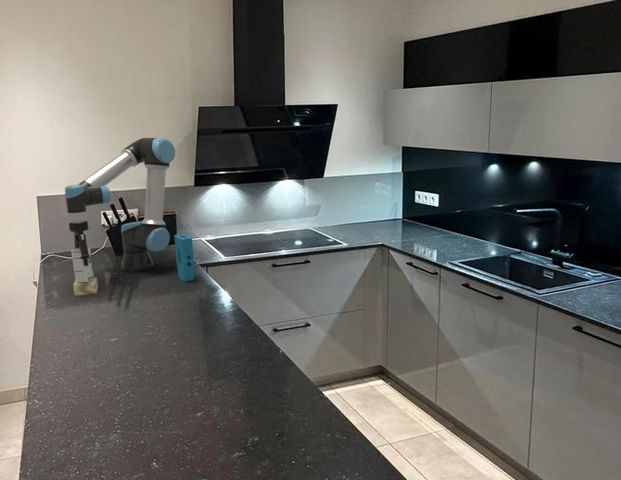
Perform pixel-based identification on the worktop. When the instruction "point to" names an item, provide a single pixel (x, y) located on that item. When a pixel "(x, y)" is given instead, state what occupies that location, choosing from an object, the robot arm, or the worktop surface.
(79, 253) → the syrup box
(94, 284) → the birch block
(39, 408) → the worktop surface
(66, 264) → the worktop surface
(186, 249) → the block
